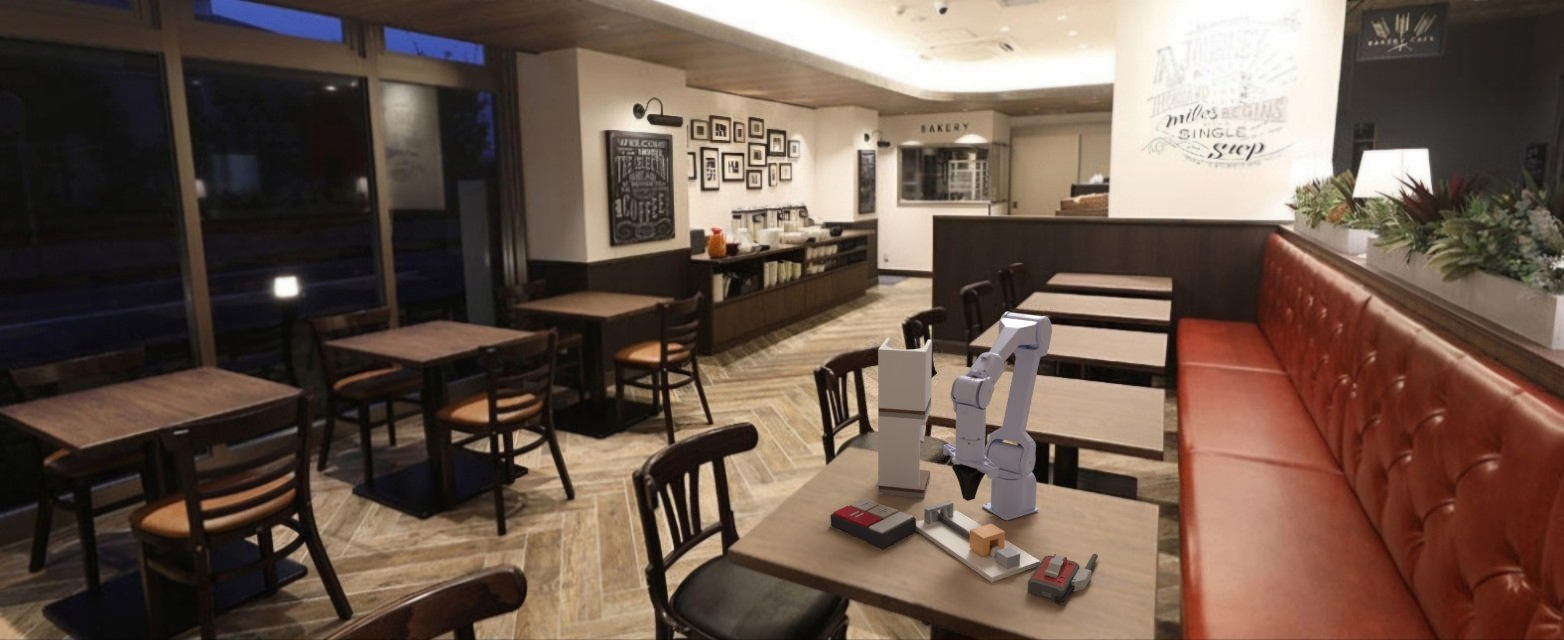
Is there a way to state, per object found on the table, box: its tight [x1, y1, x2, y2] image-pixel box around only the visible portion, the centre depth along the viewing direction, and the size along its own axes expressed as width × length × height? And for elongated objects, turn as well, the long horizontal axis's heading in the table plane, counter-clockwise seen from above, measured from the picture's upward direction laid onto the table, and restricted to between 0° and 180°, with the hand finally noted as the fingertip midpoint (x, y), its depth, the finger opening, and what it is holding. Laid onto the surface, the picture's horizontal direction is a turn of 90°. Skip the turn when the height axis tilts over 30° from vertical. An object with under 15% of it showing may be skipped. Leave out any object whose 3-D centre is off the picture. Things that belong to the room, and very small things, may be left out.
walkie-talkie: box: [1027, 553, 1099, 605], centre depth 148 cm, size 9×4×20 cm
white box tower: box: [877, 337, 933, 499], centre depth 186 cm, size 11×11×35 cm
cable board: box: [916, 500, 1041, 583], centre depth 161 cm, size 12×25×4 cm, turn 27°
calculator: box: [829, 497, 917, 551], centre depth 169 cm, size 11×4×15 cm
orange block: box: [969, 523, 1006, 556], centre depth 157 cm, size 5×4×4 cm
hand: (968, 498), depth 160 cm, fingers closed
